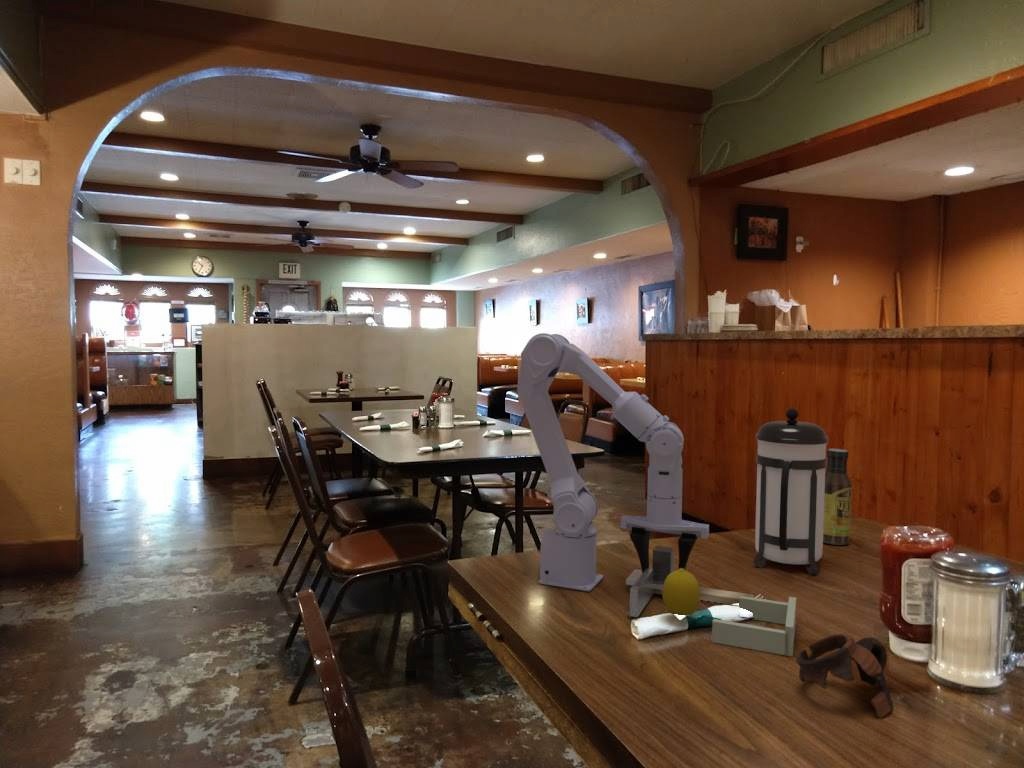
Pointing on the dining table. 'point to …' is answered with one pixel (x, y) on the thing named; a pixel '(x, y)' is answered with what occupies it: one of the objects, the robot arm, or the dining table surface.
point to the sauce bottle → (837, 499)
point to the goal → (758, 635)
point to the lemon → (681, 593)
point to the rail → (716, 595)
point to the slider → (650, 579)
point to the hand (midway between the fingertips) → (663, 574)
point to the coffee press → (790, 492)
